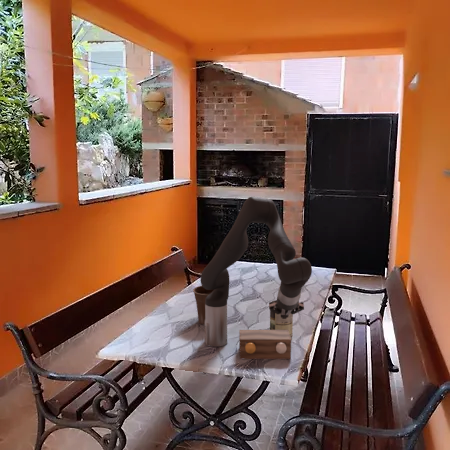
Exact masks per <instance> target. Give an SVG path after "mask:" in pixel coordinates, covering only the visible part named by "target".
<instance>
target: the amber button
mask: <svg viewBox="0 0 450 450" xmlns="http://www.w3.org/2000/svg"><path fill="white" fill-rule="evenodd" d="M245 350H246V352H247V353H250V354H251V353H254V352H255V350H256V348H255V344H254V342H246V346H245Z"/></svg>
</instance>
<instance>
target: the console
mask: <svg viewBox="0 0 450 450" xmlns="http://www.w3.org/2000/svg"><path fill="white" fill-rule="evenodd" d="M238 331H239V338H238V339H239V341H238V342H239V346H238V347H239V348H238V349H239V359H240V360H242V359H244V360H249V359H250V360H251V359H252V360H256V359H257V360H258V359H259V360H260V359H261V360H264V359H266V360H270V359H273V360H278V359H282V360H285V359H287V360H288V359H290V360H292V359H291V358H292V338H291V337H292V336H290V334H289V331H288V330H270V329H239V330H238ZM246 342H254V344H255V348H256V350H255V352H254V353H251V354H250V353H247V352H246V350H245V346H246ZM276 342H285V345H286V352H285V353H282V354H280V353H278V352H277V350H276Z"/></svg>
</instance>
